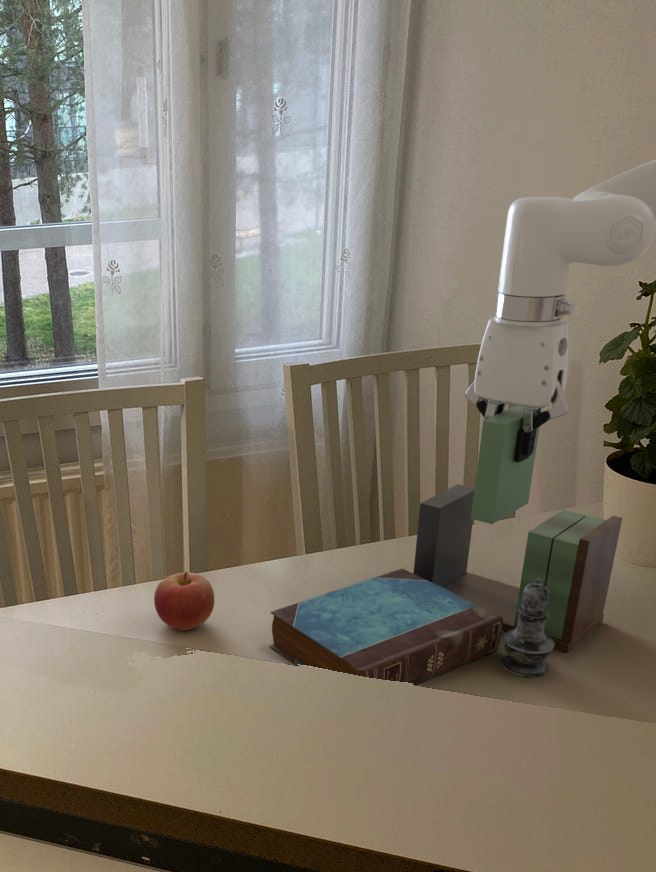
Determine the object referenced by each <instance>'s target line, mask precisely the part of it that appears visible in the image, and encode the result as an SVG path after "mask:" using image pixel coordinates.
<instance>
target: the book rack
mask: <svg viewBox="0 0 656 872" xmlns="http://www.w3.org/2000/svg"><path fill="white" fill-rule="evenodd" d="M474 490H475V487H471V486H467V485H463V484H459V483H457V484H455V485H453V486H451V487H449V488H447V489H445V490H444V491H441V492H439V493H438V494H435V495H433V496H432V497H429V498H427V499H426V500H424V501H422V502H420V503H419V513H418V522H417V534H416V544H415V554H414V565H413V572H412V573H413V574H415V575H417V576H419V577H421V578H423V579H425V580H427V581H430V582H432V583H434V584H436V585H438V586H440V587H442V588H444V589H446V590H448V591H450V592H452V593H454V594H456V595H458V596H460V597H462V598H464V599H466V600H468V601H470V602H472V603H474V604H476V605H478V606H480V607H482V608H483V609H485V610H487V611H488V612H490V613H492V614H493V615H494V616H502V618H503V628H502V632H504V633H506V632H508V631H510V630H513V629H516V627H517V625H518V619H519V614H518V613H517V609H518V608H519V607H521V604H522V598H523V592H524V588H525V586H526V585H528V584H530V583H535V582H536V581H535V580H536V579H537V578H538V577H539V578H540V579H541V582H540V583H541V584H543V585H545V586H546V587H547V588H548V590H549V599H548V605H547V611H548V613H549V617H548V618H547V619H546V621H545V626H544V634H545V635H547V636H549V637H550V638H551V639H552V640H553V642H554V648H553V650H557V651H560V652H563V653H567V654H568V653H569V652H570V651H571V650H572V649H573V648H575V647H576V646H577V645H579V643H580V642H582V641H583V640H584V639H585V638H586V637H587V636H588V635H590V634H591V633H592V632H593V631H594V630H596V629H597V628H598V627H599V626H600V625H601V624H602V623H603V622H604V617H605V614H604V610H605V605H606V602H607V601H606V600H607V596H608V592H609V591H608V590H609V587H610V586H609V585H610V580H611V576H612V571H613V567H614V562H615V556H616V551H617V547H618V541H619V538H620V537H619V536H620V531H621V527H622V521H623V517H621V516H616V515H611V516H610V517H608V518H606V519H603V518H600V517H599V518H598V517H595V516H591V515H586V514H582V513H579V512H578V513H577V512H575V511H570V510H567V509H562V510H560V511H559V512H557V513H555V514H554V515H553V516H551V517H549V518H548V519H546V520H544V521H543V522H541V523H540V524H539V525H537V526H535V527H534V528H532V529H530V530H529V531H528V533H527V538H526V539H527V541H526V546H525V550H524V551H525V553H524V558H523V564H522V571H521V578H520V584H519V587H517V586H514V585H511V584H508V583H504V582H501V581H498V580H495V579H491V578H488V577H485V576H481V575H479V574H475V573H472V572H468V571H467V570H468V563H469V554H470V546H471V540H472V532H473V524H474V519H471V513H472V505H473V497H474Z"/></svg>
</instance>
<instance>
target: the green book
mask: <svg viewBox="0 0 656 872" xmlns="http://www.w3.org/2000/svg"><path fill="white" fill-rule="evenodd" d="M523 407H524V406H518V405H515V406H514V407H511V408H508V409H507V410H506V409H505V410H504V412H502V413H499V414H497V415H495V416H492V417H490V418H488V419H485V420H484V419H483V421H482V428H481V436H480V443H479V450H478V451H479V452H478V457H477V458H478V459H477V466H476V475H475V483H474V488H475V490H474V497H473V505H472V513H471V519H473V521H479V522H481V523H486V524H490V525H494V524H496V523H497V522H499V521H500V520H503V519H504V518H506V517H507V516H509V515H511V514H513V513H514V512H516V511H518V510H520V509H521V508H522V507H524V506H526V505H528V504H529V499H530V493H531V486H532V480H533V474H534V467H535V461H536V455H537V447H538V442H539V435H540V429H541V426H540V427H539V428H537V431H536V437H535V444H534V450H533V453H532V454H531V455H530V456H529V458H527V459H525V460H523V461H521V462H520V463H519V462H515V461H514V454H515V447H516V440H517V434H518V432H519V431H521V430H522V426H523Z"/></svg>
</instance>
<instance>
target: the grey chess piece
mask: <svg viewBox="0 0 656 872" xmlns="http://www.w3.org/2000/svg"><path fill="white" fill-rule="evenodd" d="M535 581H536V582H535V583H530V584H528V585H526V586H525V588H524V592H523V598H522V604H521V607H519V608H518V609H517V613H518V614H519V619H518V625H517V627H516V629H513V630H510V631H508V632H504V634H503V635H502V641H503V643H504V649H505V652H506V654H507V655H506V656H505V657H503V658H502V659H501V664H500V665H501V667H502V668H503V669H504V670H505V671H506V672H507V673H509V674H512V675H514V676H517V677H520V678H527V679H529V678H530V679H535V678H539V677H543V676H544V675H546V674H547V673H548V666H547V664H546V663H545V662H544V661H545V660H546V659H547V658H548V657H549V655H550V654H551V651H553V650H554V642H553V640H552V639H551V638H550V637H549V636H547V635H545V634H544V626H545V621H546V619H547V618H548V617H549V613H548V611H547V605H548V599H549V590H548V588H547V587H546V586H545V585H543V584H541V583H540V582H541V579H540V578H539V577H538V578H537V579H536V580H535Z"/></svg>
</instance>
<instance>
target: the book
mask: <svg viewBox="0 0 656 872" xmlns="http://www.w3.org/2000/svg"><path fill="white" fill-rule="evenodd" d="M413 573H414V572H411V571H409V570H407V569H405V568H399V569H396V570H393V571H390V572H387V573H384V574H380V575H378V576H375V577H372V578H369V579H366V580H363V581H360V582H356V583H354V584H351V585H348V586H344V587H341V588H339V589H336V590H333V591H329V592H327V593H324V594H321V595H318V596H315V597H311V598H308V599H305V600H302V601H300V602H296V603H293V604H290V605H286V606H284V607H281V608H278V609H275V610H273V611H270V614H271V615H272V616H273V620H272V622H271V634H272V640H273V644H270V645H269V648H271V649H272V650H274V651H276V652H277V653H278V654H280V655H281V656H282V657H284V658H285V659H287V660H289V661H290V662H292V663H293V664H294V665H296V664H300V665H307V666H309V665H310V666H313V667H318V668H323V669H328V670H332V671H337V672H343V673H348V674H353V675H358V676H363V677H369V678H376V679H382V680H390V681H399V682H408V683H413V684H415V685H417V684H420V683H422V682H425V681H427V680H430V679H432V678H434V677H437V676H439V675H441V674H444V673H446V672H448V671H451V670H454V669H456V668H458V667H460V666H463V665H466V664H468V663H470V662H473V661H475V660H477V659H480V658H482V657H485V656H487V655H490V654H492V653H494V652H497V651H498V649H499V647H500V643H501V638H502V633H503V631H502V628H503V618H502V616H494V615H493V614H492V613H490V612H488V611H487V610H485V609H483V608H482V607H480V606H478V605H476V604H474V603H472V602H470V601H468V600H466V599H464V598H462V597H460V596H458V595H456V594H454V593H452V592H450V591H448V590H446V589H444V588H442V587H440V586H438V585H436V584H434V583H432V582H430V581H427V580H425V579H423V578H421V577H419V576H417V575H415V574H413Z"/></svg>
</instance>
